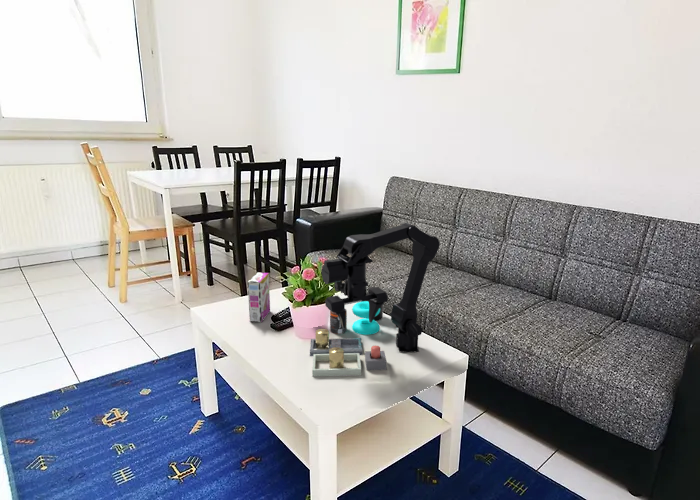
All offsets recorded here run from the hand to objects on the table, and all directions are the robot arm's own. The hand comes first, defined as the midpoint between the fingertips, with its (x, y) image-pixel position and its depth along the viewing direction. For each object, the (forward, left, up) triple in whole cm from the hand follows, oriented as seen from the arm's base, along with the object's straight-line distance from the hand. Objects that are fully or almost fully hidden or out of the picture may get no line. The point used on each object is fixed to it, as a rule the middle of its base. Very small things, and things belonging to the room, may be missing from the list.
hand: (357, 324), depth 139 cm
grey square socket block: (-5, +4, -13) cm, 14 cm away
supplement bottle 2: (-8, -32, -13) cm, 35 cm away
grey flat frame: (+7, -7, -13) cm, 16 cm away
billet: (+7, +5, -12) cm, 15 cm away
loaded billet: (+11, -7, -12) cm, 17 cm away
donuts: (-4, -21, -13) cm, 25 cm away
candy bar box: (+36, -35, -13) cm, 51 cm away
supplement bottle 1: (+6, -20, -13) cm, 24 cm away
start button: (-5, +4, -9) cm, 11 cm away
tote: (+7, +5, -13) cm, 15 cm away
